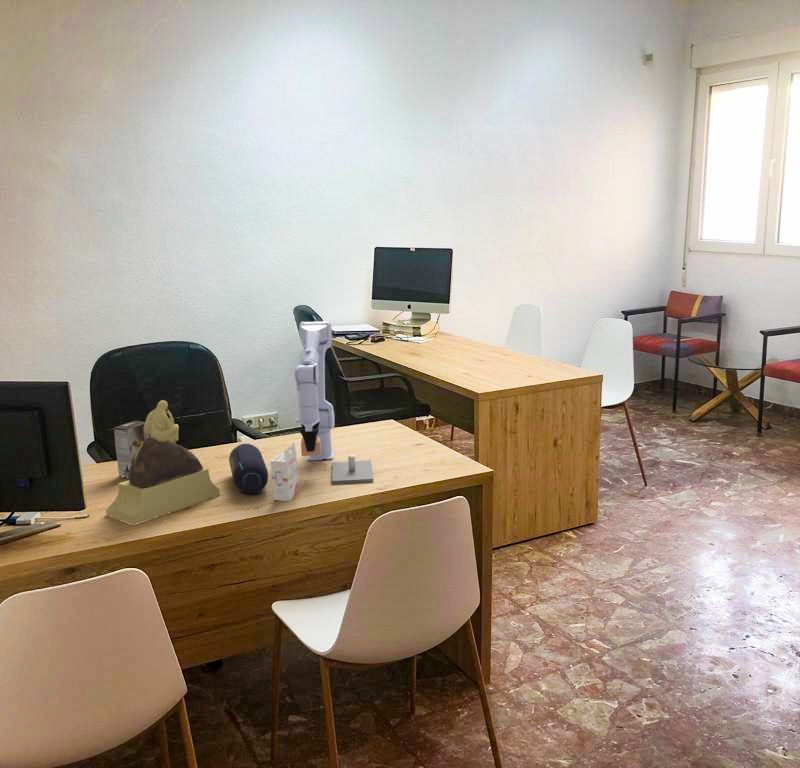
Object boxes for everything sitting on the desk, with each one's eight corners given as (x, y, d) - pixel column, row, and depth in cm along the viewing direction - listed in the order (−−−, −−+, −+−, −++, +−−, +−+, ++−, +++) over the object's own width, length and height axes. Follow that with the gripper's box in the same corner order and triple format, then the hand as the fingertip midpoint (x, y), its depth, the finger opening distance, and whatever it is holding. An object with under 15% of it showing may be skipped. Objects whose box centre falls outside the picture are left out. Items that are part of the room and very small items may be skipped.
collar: (302, 450, 253) (301, 438, 252) (320, 449, 253) (320, 437, 252) (301, 456, 247) (300, 443, 246) (320, 455, 248) (319, 442, 247)
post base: (332, 465, 261) (331, 448, 260) (370, 463, 262) (370, 446, 260) (332, 484, 243) (331, 466, 242) (373, 481, 244) (372, 464, 243)
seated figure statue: (192, 486, 246) (183, 388, 239) (219, 495, 238) (211, 393, 231) (106, 515, 224) (94, 408, 218) (133, 526, 216) (121, 414, 210)
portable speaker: (229, 473, 257) (226, 442, 255) (261, 469, 260) (259, 438, 258) (235, 499, 234) (232, 465, 231) (271, 495, 236) (268, 461, 234)
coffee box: (140, 468, 264) (135, 419, 261) (155, 471, 261) (150, 421, 258) (118, 477, 257) (112, 427, 253) (133, 479, 253) (127, 429, 250)
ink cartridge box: (282, 490, 239) (279, 441, 236) (299, 491, 238) (296, 442, 235) (272, 501, 231) (268, 450, 228) (289, 501, 230) (286, 450, 227)
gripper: (296, 399, 254) (298, 442, 257) (293, 411, 240) (296, 456, 243) (319, 398, 254) (321, 441, 257) (318, 409, 240) (320, 454, 243)
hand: (311, 448), depth 250 cm, fingers closed on collar, 6 cm apart
